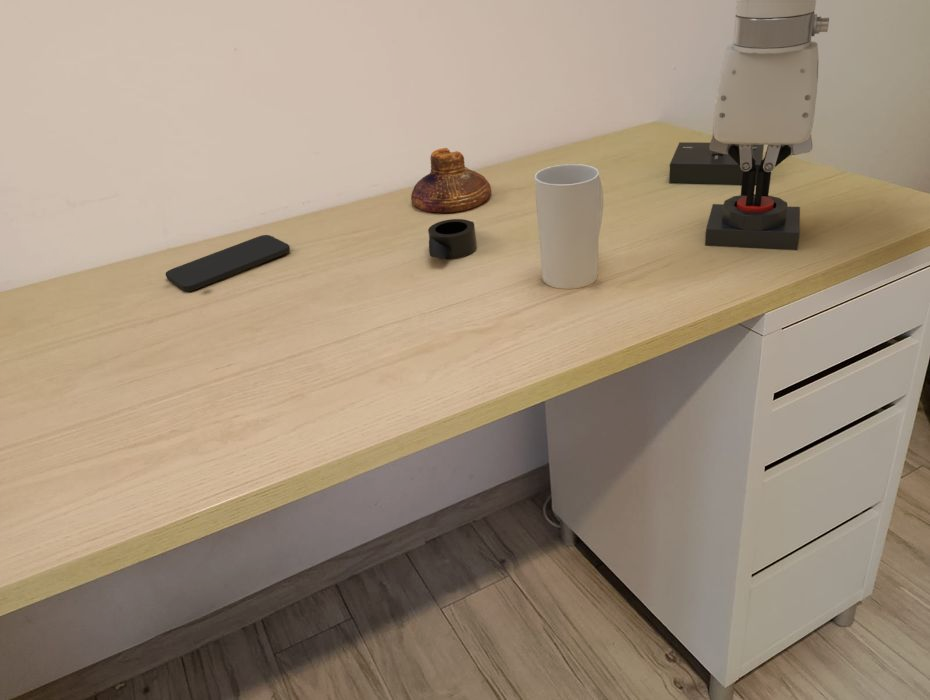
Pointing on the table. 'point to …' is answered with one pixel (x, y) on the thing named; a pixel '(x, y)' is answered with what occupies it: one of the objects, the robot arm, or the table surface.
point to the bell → (450, 185)
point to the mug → (569, 224)
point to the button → (765, 205)
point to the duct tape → (452, 239)
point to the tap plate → (707, 165)
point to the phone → (226, 262)
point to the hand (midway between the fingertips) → (753, 201)
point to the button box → (753, 226)
